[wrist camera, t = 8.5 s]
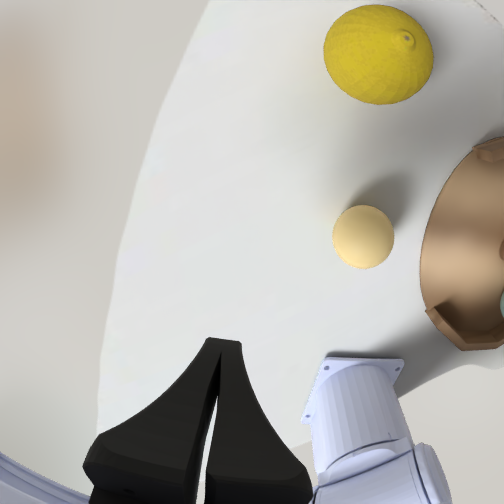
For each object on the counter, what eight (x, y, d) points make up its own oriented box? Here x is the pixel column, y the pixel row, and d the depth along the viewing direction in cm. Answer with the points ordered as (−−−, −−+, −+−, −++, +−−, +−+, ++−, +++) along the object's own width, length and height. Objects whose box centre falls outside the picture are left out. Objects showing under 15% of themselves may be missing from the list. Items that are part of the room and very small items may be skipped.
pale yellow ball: (373, 233, 22) (392, 277, 19) (322, 238, 22) (336, 285, 19) (386, 190, 19) (412, 235, 16) (329, 193, 19) (349, 241, 16)
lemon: (397, 42, 15) (460, 11, 8) (389, 116, 18) (455, 117, 10) (317, 21, 15) (347, -32, 8) (308, 97, 18) (336, 81, 10)
